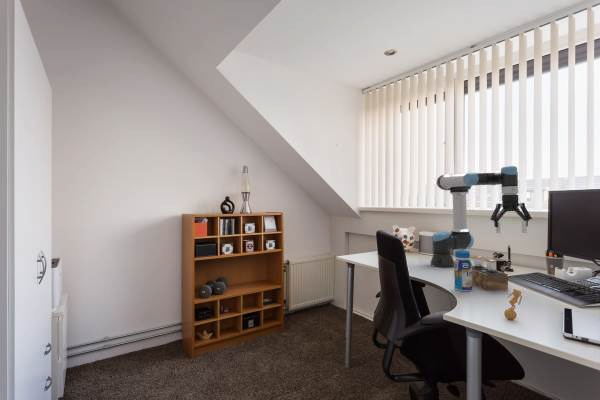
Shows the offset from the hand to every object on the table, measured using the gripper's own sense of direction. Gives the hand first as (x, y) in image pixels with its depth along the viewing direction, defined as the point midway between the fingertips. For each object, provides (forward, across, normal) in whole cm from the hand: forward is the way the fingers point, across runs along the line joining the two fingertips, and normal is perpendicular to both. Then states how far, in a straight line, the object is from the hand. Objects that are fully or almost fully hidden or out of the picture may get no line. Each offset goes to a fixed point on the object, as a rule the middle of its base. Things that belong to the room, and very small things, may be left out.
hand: (511, 233), depth 167 cm
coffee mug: (+28, -1, +16) cm, 32 cm away
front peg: (+22, -15, -9) cm, 28 cm away
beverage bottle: (+28, -31, -11) cm, 43 cm away
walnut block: (+28, -16, -4) cm, 32 cm away
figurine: (+28, -30, -51) cm, 65 cm away
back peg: (+22, -17, +1) cm, 28 cm away
